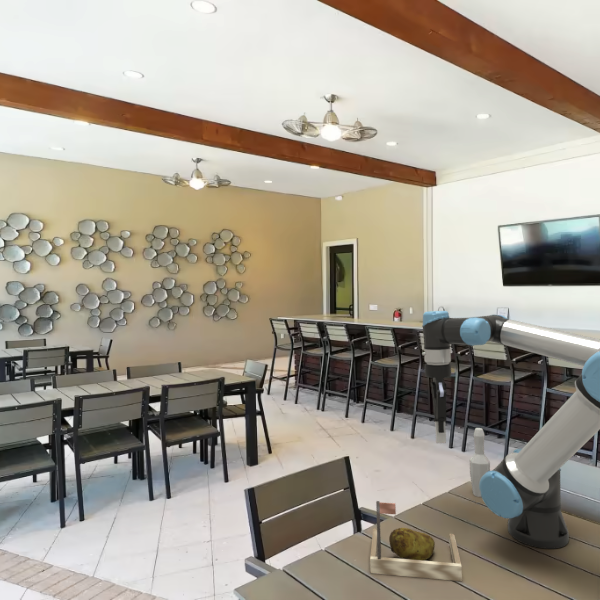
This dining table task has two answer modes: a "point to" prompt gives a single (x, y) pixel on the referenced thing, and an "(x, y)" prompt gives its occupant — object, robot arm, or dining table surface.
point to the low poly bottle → (478, 462)
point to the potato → (411, 544)
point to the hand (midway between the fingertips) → (441, 442)
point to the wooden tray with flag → (406, 565)
